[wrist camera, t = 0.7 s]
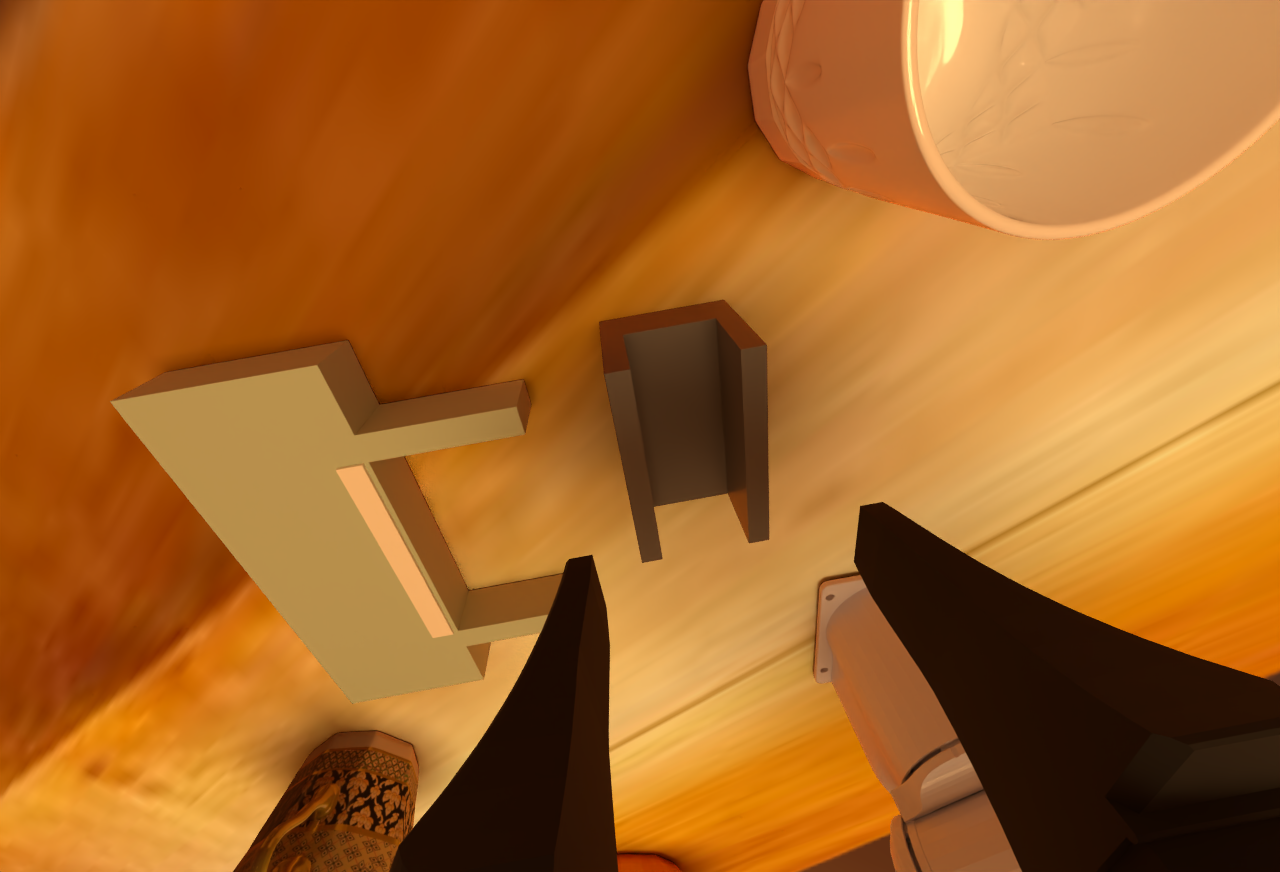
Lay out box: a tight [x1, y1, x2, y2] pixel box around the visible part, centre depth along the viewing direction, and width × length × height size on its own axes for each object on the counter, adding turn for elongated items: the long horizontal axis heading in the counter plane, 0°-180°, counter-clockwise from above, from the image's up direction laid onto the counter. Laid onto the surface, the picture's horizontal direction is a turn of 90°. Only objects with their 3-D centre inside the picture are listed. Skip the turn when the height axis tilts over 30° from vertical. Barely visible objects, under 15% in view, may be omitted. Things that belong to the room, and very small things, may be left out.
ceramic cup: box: [233, 731, 419, 872], centre depth 27 cm, size 13×10×10 cm
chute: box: [599, 300, 769, 563], centre depth 19 cm, size 8×5×5 cm, turn 8°
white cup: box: [748, 0, 1280, 240], centre depth 11 cm, size 8×8×10 cm
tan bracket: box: [110, 340, 563, 704], centre depth 22 cm, size 18×13×3 cm
